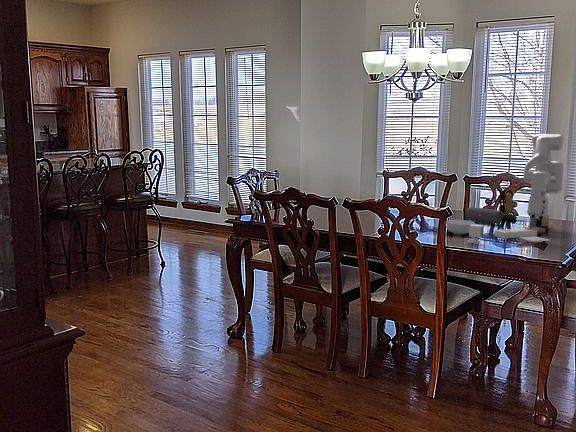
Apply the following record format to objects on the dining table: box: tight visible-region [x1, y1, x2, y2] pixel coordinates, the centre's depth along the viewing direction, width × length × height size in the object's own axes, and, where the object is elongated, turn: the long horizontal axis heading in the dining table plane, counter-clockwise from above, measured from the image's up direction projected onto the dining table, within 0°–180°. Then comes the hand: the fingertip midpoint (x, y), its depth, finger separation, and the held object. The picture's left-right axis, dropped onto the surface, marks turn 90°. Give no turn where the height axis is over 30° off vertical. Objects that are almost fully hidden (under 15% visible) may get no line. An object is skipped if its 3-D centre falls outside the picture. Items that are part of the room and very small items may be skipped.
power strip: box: [494, 227, 538, 239], centre depth 349 cm, size 24×8×4 cm, turn 111°
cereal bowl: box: [445, 219, 476, 236], centre depth 356 cm, size 17×17×7 cm
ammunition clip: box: [530, 214, 550, 236], centre depth 356 cm, size 11×2×12 cm, turn 68°
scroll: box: [498, 190, 518, 222], centre depth 408 cm, size 15×15×20 cm
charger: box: [528, 217, 542, 230], centre depth 337 cm, size 5×4×7 cm
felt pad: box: [518, 236, 552, 243], centre depth 338 cm, size 12×12×1 cm
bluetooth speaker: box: [464, 206, 504, 225], centre depth 393 cm, size 23×9×10 cm, turn 42°
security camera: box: [466, 223, 485, 245], centre depth 328 cm, size 6×7×10 cm
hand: (535, 225), depth 337 cm, fingers closed on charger, 4 cm apart
